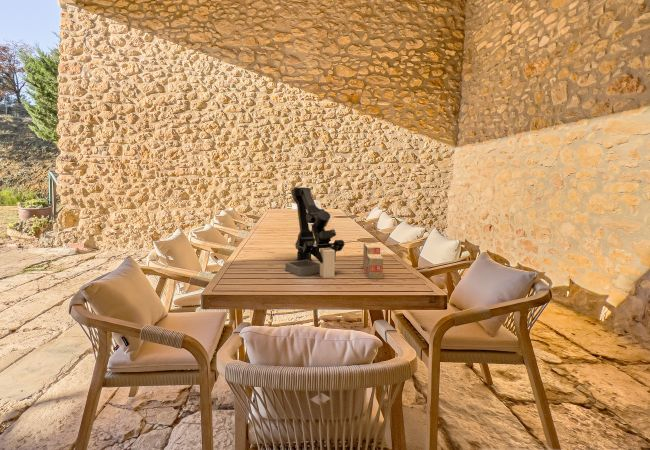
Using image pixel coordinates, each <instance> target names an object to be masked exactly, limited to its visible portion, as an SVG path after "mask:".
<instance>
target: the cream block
mask: <svg viewBox="0 0 650 450" xmlns="http://www.w3.org/2000/svg"><path fill="white" fill-rule="evenodd" d="M319 251H320V254H321V257H322V260H323V263H321V262H320V261H319V264H320V273H319V276H321V278H323V279H326V278H329V279H330V278H335V270H336V269H335V267H336V266H335V262H336V257H335V250H333V249H331V248H322V249H319Z"/></svg>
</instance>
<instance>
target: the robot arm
mask: <svg viewBox="0 0 650 450" xmlns="http://www.w3.org/2000/svg"><path fill="white" fill-rule="evenodd" d="M291 196H292V201H293V202H294V203H295V204H296V207H297V216H298V224H299V232H298V234H297V239H296V241H295V249H296V250H297V253H296V254H297V255H296V256H297V257H296V259H295V260H296V261H300V260H307V259H308V260H311V261H314V259H312V256H313V257H315V258H316V259H317V260H318V262H319V263H320V262H321V263H323V260H322V257H321V254H320V249H328V248H331V249H333V250H335V258H336V255H337V252H341V251H342V250H343V248H344V246H345V241H344V240H343V239H335V240H334V242H333V243H331V241H332V239H333V238H334V237H336V236H337V232H336V230H335V228H333V229H330V230H326V229H325V228H326V227H327V225H328V223H329V221H330V219H331V214H330V213H329V212H328V211H326V210H325V208H319V207H318V206H317V205H316V203H315V200H314V198H313V196H312V190H311V188H309V187H297V186H295V187H293V189H291ZM309 224H311V229H310V225H309Z"/></svg>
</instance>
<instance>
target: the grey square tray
mask: <svg viewBox="0 0 650 450" xmlns="http://www.w3.org/2000/svg"><path fill="white" fill-rule="evenodd" d="M284 264H285V271H287V272H289V273H292V274H294V275H295V276H296V275H297V276H298V277H303V276H309V275H313V274H315V275H316V274H320V262H319V263H318V262H316V261H314V260H312V261H311V260H308V259H307V260H300V261H299V260H296V261H295V260H294V261H290V262H289V261H288V262H285V263H284Z"/></svg>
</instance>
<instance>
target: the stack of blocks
mask: <svg viewBox="0 0 650 450" xmlns="http://www.w3.org/2000/svg"><path fill="white" fill-rule="evenodd" d="M362 256H363V262H362V266H363V270H364V271H365V273H366V276H367V277H368V279H383V272H384V271H383V270H384V269H383V268H384V267H383V266H384V257H383V256H382V255H381V247H380V246H379V244H377V242H363V255H362Z"/></svg>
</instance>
